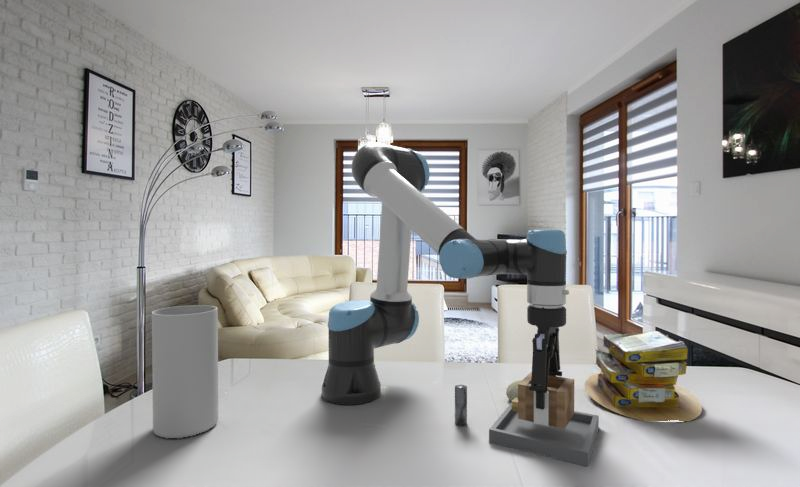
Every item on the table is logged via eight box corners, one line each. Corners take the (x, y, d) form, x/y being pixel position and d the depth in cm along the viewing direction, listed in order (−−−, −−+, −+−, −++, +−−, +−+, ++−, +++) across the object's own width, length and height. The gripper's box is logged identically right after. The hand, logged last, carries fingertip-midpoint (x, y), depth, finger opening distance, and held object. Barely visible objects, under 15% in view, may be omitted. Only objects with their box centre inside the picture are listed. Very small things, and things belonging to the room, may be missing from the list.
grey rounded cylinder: (452, 424, 93) (453, 387, 92) (457, 419, 95) (457, 383, 95) (464, 427, 91) (464, 389, 91) (468, 422, 94) (468, 386, 93)
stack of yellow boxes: (722, 428, 91) (724, 350, 90) (596, 417, 96) (597, 343, 96) (675, 388, 115) (676, 326, 114) (576, 381, 120) (577, 321, 120)
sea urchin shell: (552, 402, 100) (527, 377, 101) (527, 424, 101) (503, 398, 102) (547, 388, 109) (524, 365, 110) (524, 408, 110) (501, 385, 111)
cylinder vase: (231, 418, 95) (230, 306, 95) (186, 444, 84) (185, 317, 83) (187, 411, 100) (186, 304, 99) (138, 434, 88) (137, 313, 87)
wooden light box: (564, 429, 82) (564, 392, 81) (506, 416, 88) (506, 382, 88) (574, 412, 89) (574, 379, 89) (519, 401, 95) (519, 370, 95)
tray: (488, 441, 85) (489, 429, 85) (514, 409, 100) (514, 399, 100) (587, 466, 76) (587, 452, 76) (598, 427, 91) (598, 415, 91)
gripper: (555, 315, 76) (555, 441, 76) (574, 299, 95) (574, 400, 95) (513, 311, 80) (513, 431, 80) (539, 297, 99) (539, 394, 99)
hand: (546, 414), depth 88 cm, fingers closed on wooden light box, 9 cm apart
